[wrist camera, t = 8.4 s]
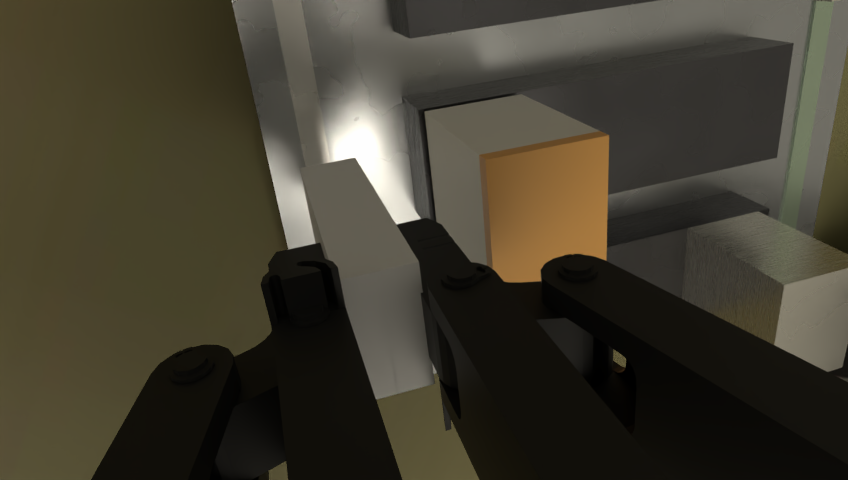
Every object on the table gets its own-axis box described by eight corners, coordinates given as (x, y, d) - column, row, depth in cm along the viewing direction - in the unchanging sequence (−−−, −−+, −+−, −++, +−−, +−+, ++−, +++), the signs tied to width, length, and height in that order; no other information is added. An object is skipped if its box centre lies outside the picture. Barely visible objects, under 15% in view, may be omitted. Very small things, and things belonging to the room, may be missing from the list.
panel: (317, 372, 26) (352, 543, 18) (201, -137, 18) (179, -206, 10) (772, 255, 30) (951, 354, 22) (840, -194, 22) (1152, -272, 15)
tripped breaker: (437, 236, 20) (496, 314, 15) (424, 111, 18) (485, 159, 14) (526, 217, 20) (605, 287, 16) (521, 94, 18) (609, 135, 14)
